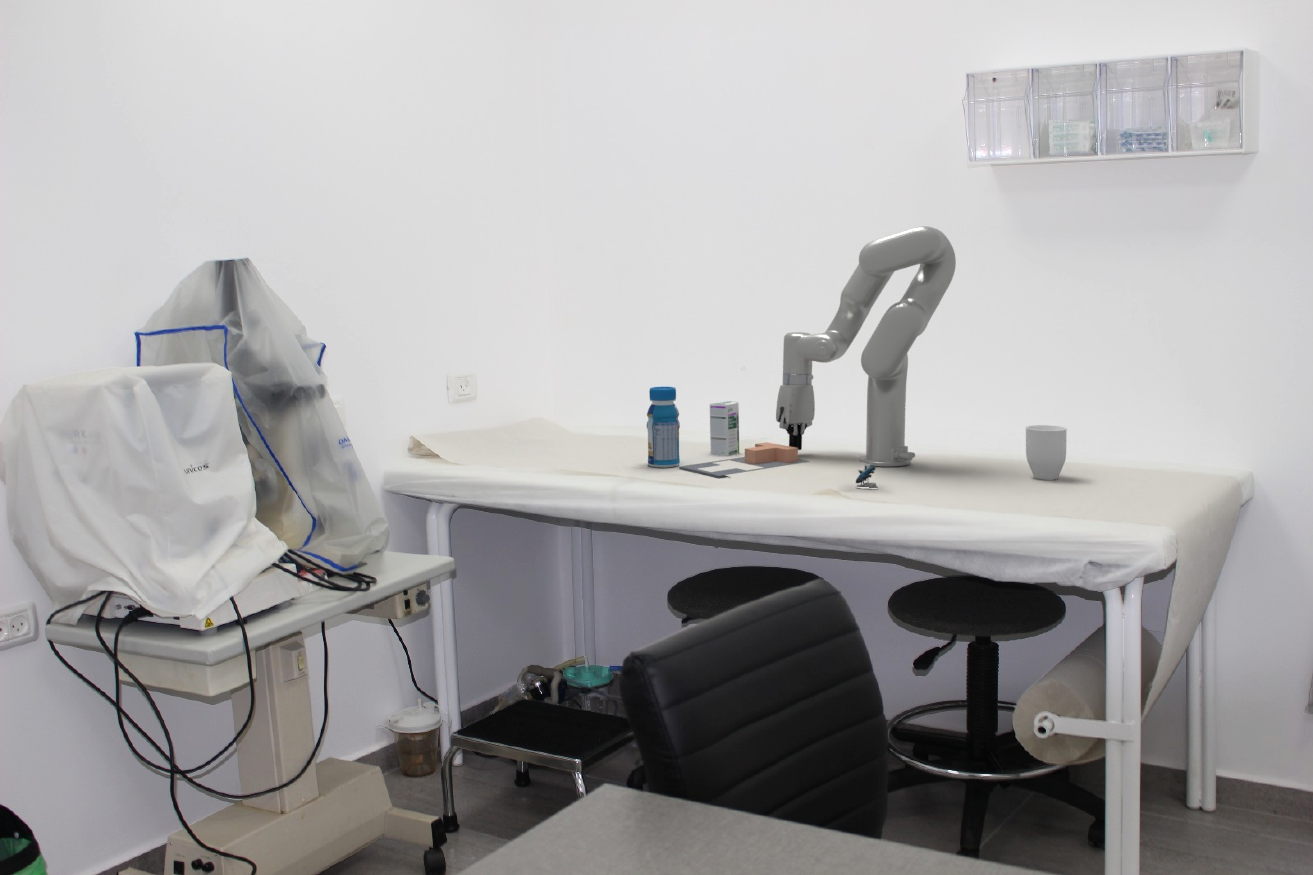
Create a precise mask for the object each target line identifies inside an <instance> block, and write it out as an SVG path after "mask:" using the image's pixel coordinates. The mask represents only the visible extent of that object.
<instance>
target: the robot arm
mask: <svg viewBox="0 0 1313 875" xmlns="http://www.w3.org/2000/svg"><path fill="white" fill-rule="evenodd" d="M956 259H957V258H956V253H955V249H954V247H953V245H952V243H951V242H950V240H949V238H948V237H947V235H945V233H944V232H942V231H941V230H939V229H938V228H935V227H932V226H926V225H925V226H923V225H922V226H918V227H914V228H911V229H907V230H904V231H902V232H898V233H895V234H892V235H888V236H886V237H882V238H879V239H876V240H875V239H874V240H872V241H870V242H867V243H865V245H864V246H863V247H862V249H861V250H860V252H859V255H858V264H857V266H856V267H855V270H854V271H853V273H852V275H851V276H850V277H849V278H848V281H847V283H846V284H845V286H843V289H842V291H841V293H840V300H839V302H840V303H839V307H838V310H836V311H837V312H836V313H835V315H834V317H833V319H832V320H831V322H830V324H829V325H828V327H827V329H826V331H825V332H822V333H817V334H816V333H814V334H811V333H810V332H802V331H800V332H799V331H798V332H797V331H796V332H788V333H786V334H785V335H784V337H783V348H782V349H783V351H782V352H783V356H782V358H783V360H782V385H780V386H779V390H778V393H777V400H776V410H775V420H776V422H777V423H779V425H778V426H779V429H782V430H785V431H786V433H787V435H788V446H790V447H796V448H798V451H802V449H803V448H802V447H803V435H804V434H805V431H806V430H807V428H809V427H812V425H813V421H814V419H815V410H816V408H815V404H816V403H815V391H814V386H813V385H812V383H813V382H812V381H813V380H814V375H813V362H816V363H821V364H822V363H831V362H833V361H836V360H838V359H839V360H840V358H842V356H844V355H845V354H846V352H847V351H848V350H849V348H850V346H851V345H852V343H853V342H854V340H855V338H856V336H857V335H858V334H859V332H860V331H861V328H862V326H863V325H864V323H865V321H866V319H867V317H868V316H869V314H870V312H871V310H872V307H873V306H874V304H875V303H876V301H877V300H878V298H879V296H880V295H881V293H882V291H883V290H884V288H885V287H886V285H887V284H888V282H889V281H890V279H891V277H892V276H893V274H894V273H895V272H896V271H900V270H903V269H907V268H910V267H913V266H917V265H919V267H918V270H917V271H916V274H915V275H914V277H913V278H912V280H911V282H910V283H909V285H908V287H907V289H906V291H905V292H904V294H903V295H902V296H901V298H900V300H899V301H898V302H895V303H893V304H892V305H890V307H889V308H888V309H887V310H885V313H884V314H883V315H882V317H881V319H880V321H879V322H878V324H877V326H876V328H875V330H874V331H873V332H872V334H871V336H870V338H869V340H868V341H867V343H866V345H865V346H864V349H863V350H862V353H861V357H860V364H861V367H862V370H863V371H864V374H866V375H867V376H868V378H867V390H866V391H867V393H866V438H865V439H866V442H865V444H866V445H865V449H866V451H865V455H861V456H860V457H859V462H861V463H863V464H869V465H871V464H873V465H875V467H903V466H908V465H910V464H911V461H912V460H913V459H914V458H915V457H916V453H915V452H914V451H909V447H908V446H907V445H905V443H906V442H905V440H906V439H905V438H906V437H905V436H906V403H907V402H906V400H907V398H906V397H907V379H908V377H907V376H908V368H909V355H908V352H909V351H910V349H911V348H912V347H913V346H912V345H914V342H915V341H916V339H917V338H918V337H919V336H920V335H922V334H923V333H924V332H925V331H926V328H927V327H928V324H929V322H930V320H931V319H932V317H933V315H934V313H935V311H936V310H937V308H938V307H939V305H940V303H941V301H942V299H943V298H944V296H945V294H946V292H947V290H948V289H949V287H950V285H951V282H952V280H953V278H954V275H955V271H956V266H957V263H956V262H957V261H956Z"/></svg>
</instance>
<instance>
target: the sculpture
mask: <svg viewBox="0 0 1313 875" xmlns="http://www.w3.org/2000/svg"><path fill="white" fill-rule="evenodd" d="M875 471H876V466H875V465H873V464H869V466H867V465H865V466H864V470H860V469H858V472H859V473H858V474H859V475H858V476H857V477H856V479H855V483H856V484H857V486H856V487H869V488H878V486H877V482H874V481H873V482H872V481H871V482H869V481H867V480H869V478H872V474H875ZM878 489H879V488H878Z"/></svg>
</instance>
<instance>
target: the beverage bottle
mask: <svg viewBox="0 0 1313 875" xmlns="http://www.w3.org/2000/svg"><path fill="white" fill-rule="evenodd" d="M676 399H677V389H676V387H674V386H654V387H650V388H649V400H650V402H651V404H650V406H649V407H648V409H647V413H646V416H647V418H648V419H647V422H646V429H647V450H648V452H647V464H648V466H649V467H652V468H657V467H669V468H674V467H675V468H676V467H679V465H680V460H681V459H680V427H681V426H680V425H681V422H680V420H679V416H680V411H679V409H678V408H677V405H676V404H675V403H674V402H675V401H676Z"/></svg>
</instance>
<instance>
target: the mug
mask: <svg viewBox="0 0 1313 875" xmlns="http://www.w3.org/2000/svg"><path fill="white" fill-rule="evenodd" d="M1067 429H1068V428H1066V427H1064V426H1058V425H1047V424H1046V425H1044V424H1043V425H1041V424H1040V425H1039V424H1038V425H1037V424H1036V425H1029V426H1026V427H1025V455H1026V456H1025V457H1026V461H1027V463H1028V466H1029V468H1030V470H1031V472H1032V476H1033V477H1035V478H1034V479H1036V478H1037V480H1041V479H1044V481H1054V479H1056V480H1058V479H1057V478H1059V476H1060V475H1061V472H1062V470H1063V467H1064V465H1065V463H1066V457H1067Z"/></svg>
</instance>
